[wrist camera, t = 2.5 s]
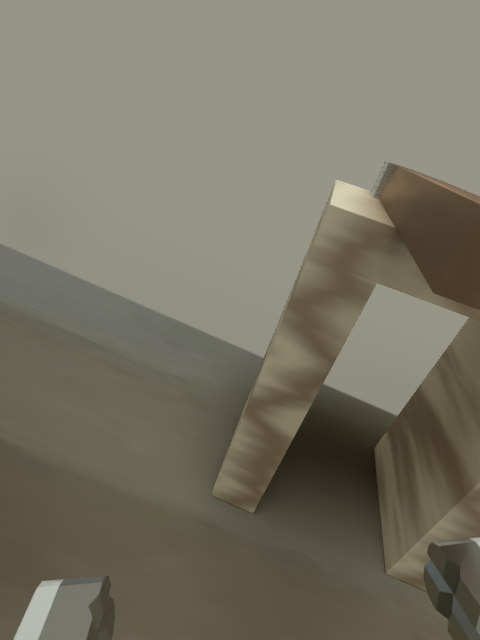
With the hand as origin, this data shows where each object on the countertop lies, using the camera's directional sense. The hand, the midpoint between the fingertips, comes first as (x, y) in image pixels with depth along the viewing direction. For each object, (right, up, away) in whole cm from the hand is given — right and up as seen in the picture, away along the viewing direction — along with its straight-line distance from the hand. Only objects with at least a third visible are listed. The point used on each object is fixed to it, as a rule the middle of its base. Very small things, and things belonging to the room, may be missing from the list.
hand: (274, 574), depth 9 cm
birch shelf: (+8, -10, +27) cm, 30 cm away
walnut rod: (+9, +11, +11) cm, 18 cm away
